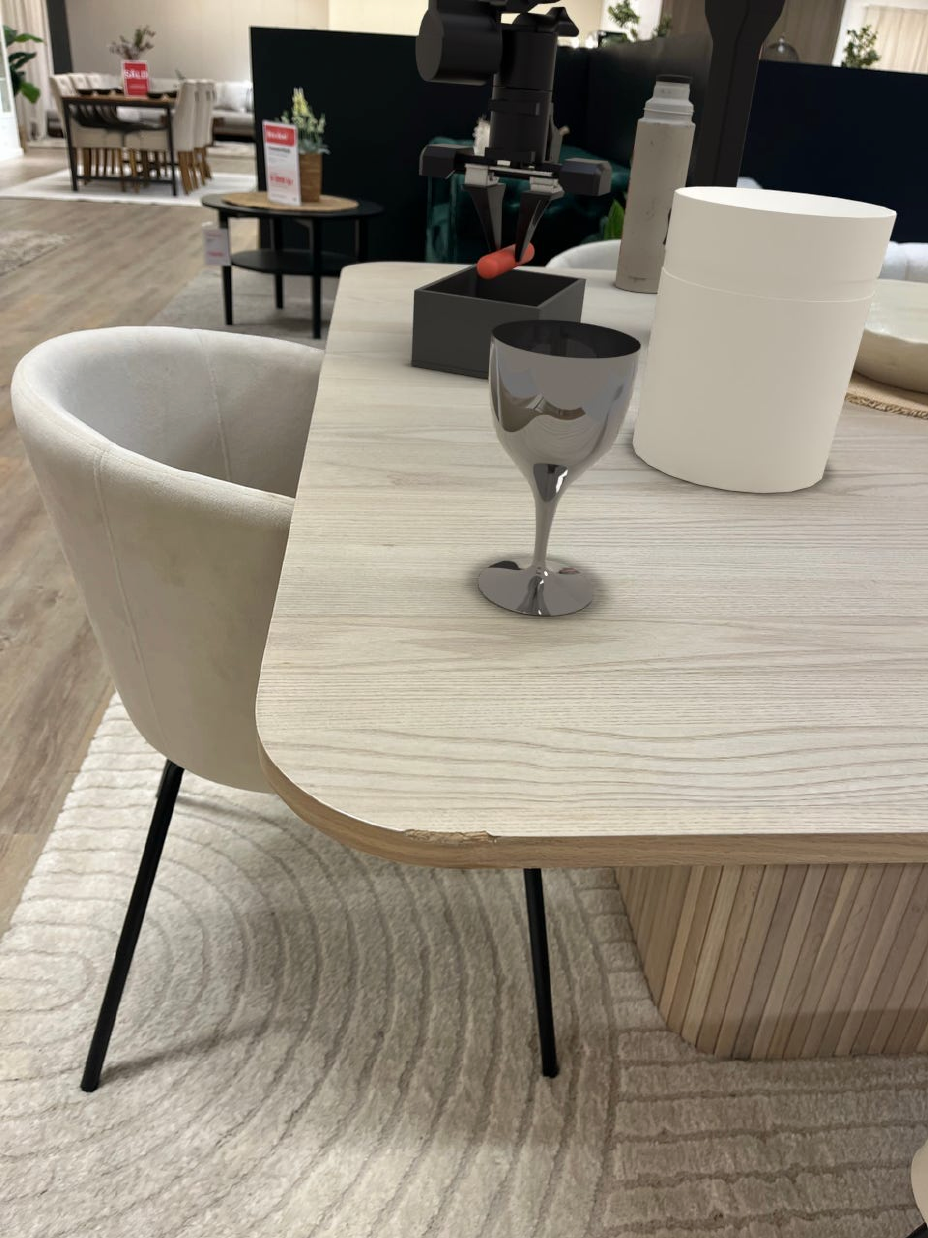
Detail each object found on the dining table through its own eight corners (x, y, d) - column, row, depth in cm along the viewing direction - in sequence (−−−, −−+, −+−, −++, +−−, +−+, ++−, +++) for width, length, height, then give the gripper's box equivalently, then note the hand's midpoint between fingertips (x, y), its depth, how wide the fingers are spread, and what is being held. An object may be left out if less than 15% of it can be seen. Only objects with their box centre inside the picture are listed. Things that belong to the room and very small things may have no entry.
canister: (800, 510, 70) (879, 224, 59) (603, 460, 76) (644, 194, 66) (840, 451, 82) (910, 206, 72) (667, 412, 88) (710, 182, 78)
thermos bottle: (605, 286, 140) (634, 71, 125) (629, 279, 146) (660, 73, 131) (653, 295, 136) (689, 75, 122) (675, 288, 142) (712, 77, 127)
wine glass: (466, 555, 59) (483, 316, 52) (587, 557, 60) (622, 322, 53) (478, 618, 53) (500, 354, 45) (614, 620, 54) (659, 361, 46)
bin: (471, 329, 111) (475, 263, 107) (577, 346, 107) (586, 278, 103) (411, 365, 96) (413, 289, 92) (532, 386, 92) (540, 308, 89)
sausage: (516, 259, 103) (519, 238, 102) (535, 262, 103) (537, 241, 102) (472, 278, 92) (474, 255, 91) (493, 282, 91) (495, 258, 90)
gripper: (634, 97, 93) (611, 261, 101) (462, 82, 98) (452, 239, 106) (609, 97, 84) (585, 277, 92) (420, 80, 89) (413, 252, 97)
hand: (506, 260), depth 97 cm, fingers closed on sausage, 2 cm apart
